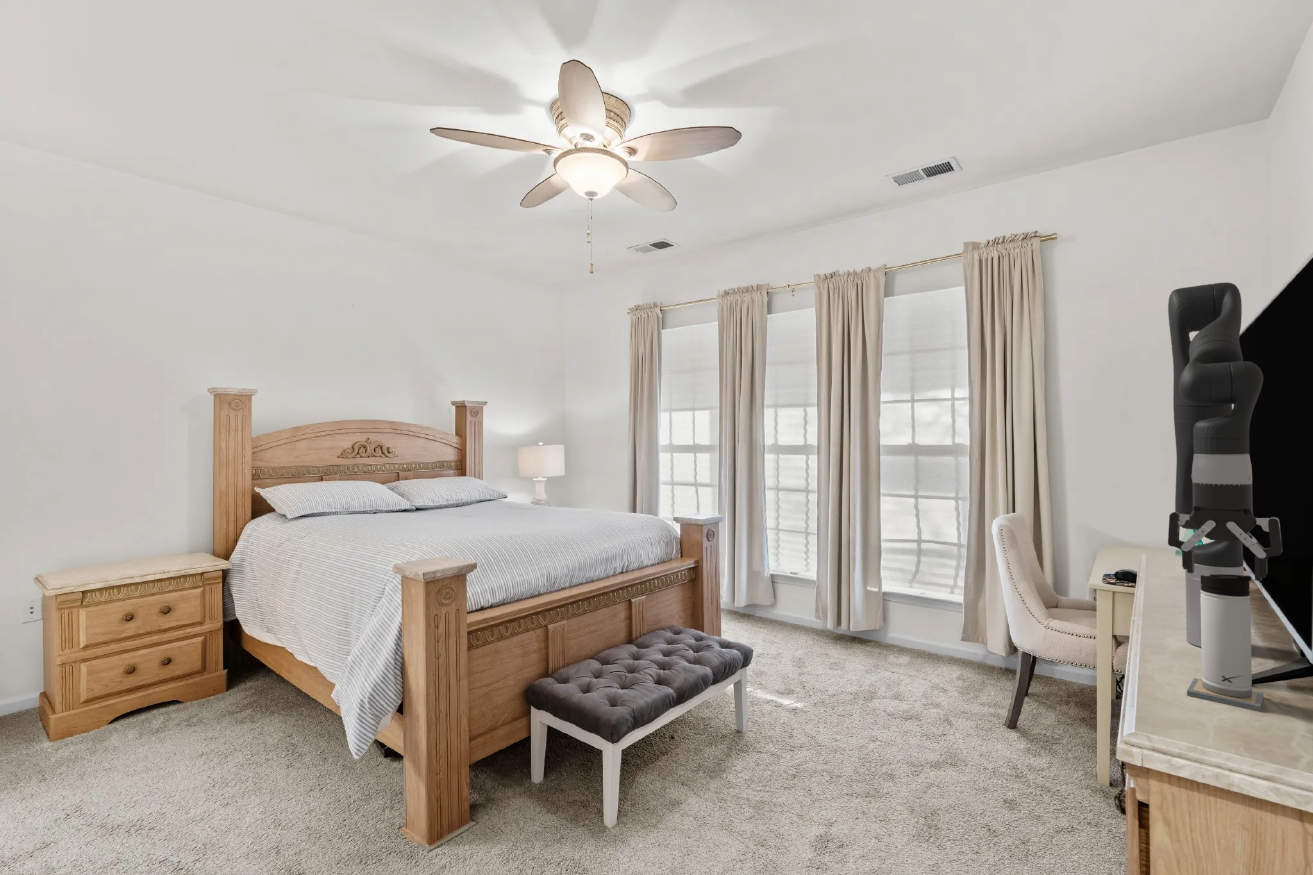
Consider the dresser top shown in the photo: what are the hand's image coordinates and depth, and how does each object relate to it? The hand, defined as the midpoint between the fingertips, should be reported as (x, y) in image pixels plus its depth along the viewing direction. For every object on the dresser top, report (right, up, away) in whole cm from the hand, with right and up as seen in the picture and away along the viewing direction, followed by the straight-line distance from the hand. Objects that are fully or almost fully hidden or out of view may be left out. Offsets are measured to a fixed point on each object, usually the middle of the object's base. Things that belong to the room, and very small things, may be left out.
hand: (1223, 576), depth 106 cm
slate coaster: (0, -20, 0) cm, 20 cm away
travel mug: (+1, -20, 0) cm, 20 cm away
